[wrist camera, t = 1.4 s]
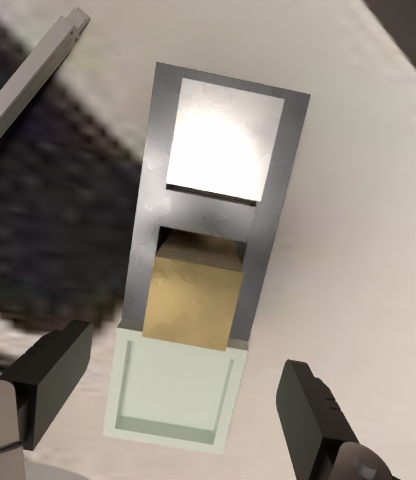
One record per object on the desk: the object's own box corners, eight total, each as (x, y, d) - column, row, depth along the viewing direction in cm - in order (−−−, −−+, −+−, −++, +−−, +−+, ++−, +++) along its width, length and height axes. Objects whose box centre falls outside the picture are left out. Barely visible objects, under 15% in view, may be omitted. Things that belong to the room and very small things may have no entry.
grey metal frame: (164, 78, 21) (156, 61, 18) (296, 105, 21) (310, 94, 18) (132, 301, 25) (121, 318, 22) (243, 321, 25) (248, 340, 22)
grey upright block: (193, 114, 21) (182, 77, 13) (257, 127, 21) (284, 99, 14) (181, 180, 22) (166, 182, 14) (243, 192, 22) (260, 201, 15)
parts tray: (124, 315, 25) (116, 327, 23) (245, 337, 25) (248, 350, 23) (110, 417, 27) (102, 435, 25) (221, 435, 28) (221, 455, 26)
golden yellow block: (173, 229, 23) (154, 256, 15) (232, 240, 23) (244, 272, 16) (164, 285, 24) (141, 336, 16) (220, 295, 24) (225, 351, 17)
